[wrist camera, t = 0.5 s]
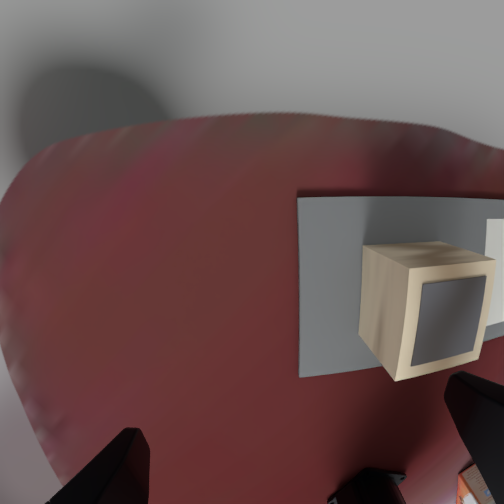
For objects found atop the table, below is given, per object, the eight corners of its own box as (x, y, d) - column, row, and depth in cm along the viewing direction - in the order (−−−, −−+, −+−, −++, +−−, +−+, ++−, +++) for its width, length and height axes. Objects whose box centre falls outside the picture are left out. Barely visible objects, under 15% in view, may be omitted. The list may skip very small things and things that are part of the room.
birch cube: (438, 241, 19) (497, 260, 13) (430, 322, 20) (479, 359, 14) (361, 245, 19) (410, 269, 13) (357, 333, 20) (395, 382, 14)
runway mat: (550, 203, 19) (553, 203, 19) (536, 321, 22) (538, 322, 21) (296, 197, 19) (298, 197, 18) (298, 374, 21) (299, 377, 21)
